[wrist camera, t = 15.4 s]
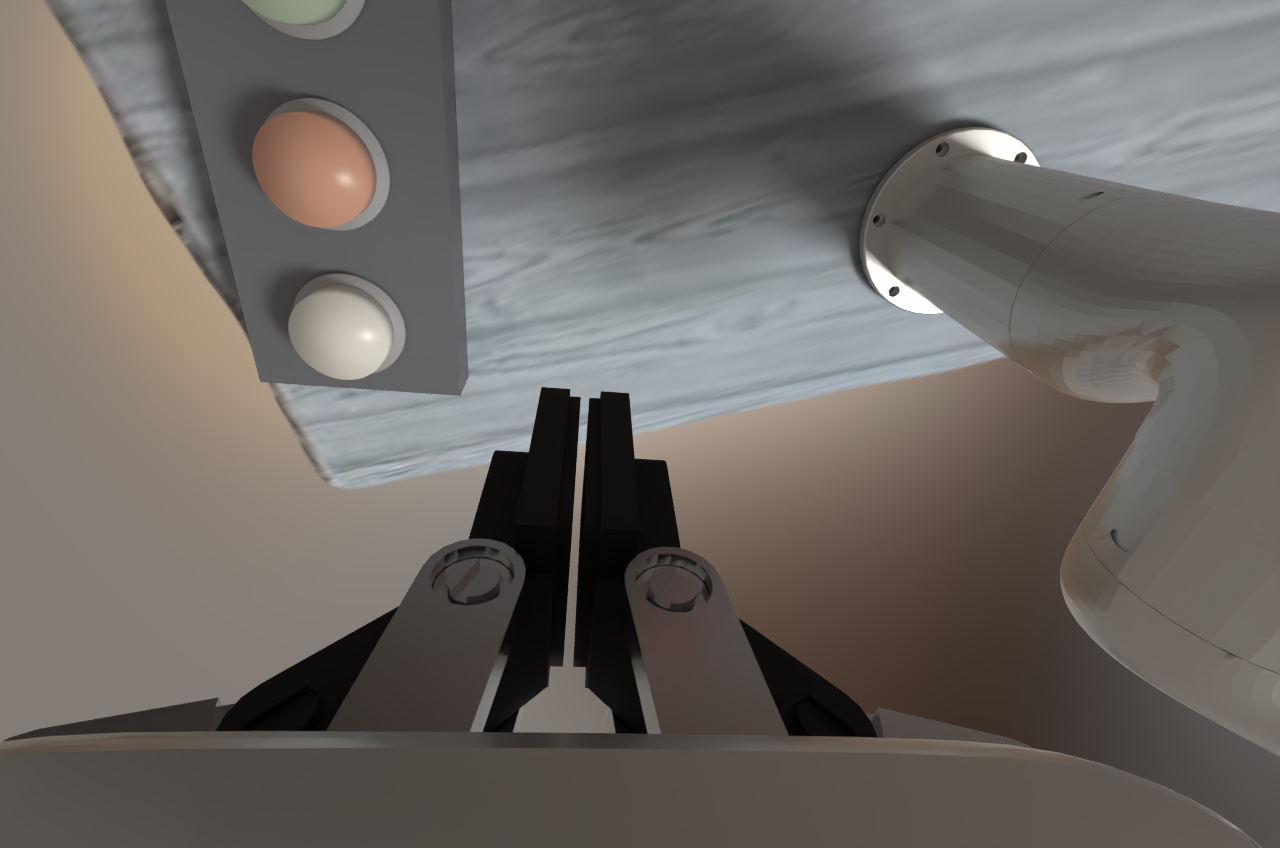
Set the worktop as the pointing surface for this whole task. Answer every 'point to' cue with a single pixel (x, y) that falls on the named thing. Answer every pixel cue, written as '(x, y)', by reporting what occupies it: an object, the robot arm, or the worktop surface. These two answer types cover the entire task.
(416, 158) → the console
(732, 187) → the worktop surface
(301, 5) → the button green
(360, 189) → the button terracotta
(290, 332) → the button white
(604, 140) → the worktop surface
